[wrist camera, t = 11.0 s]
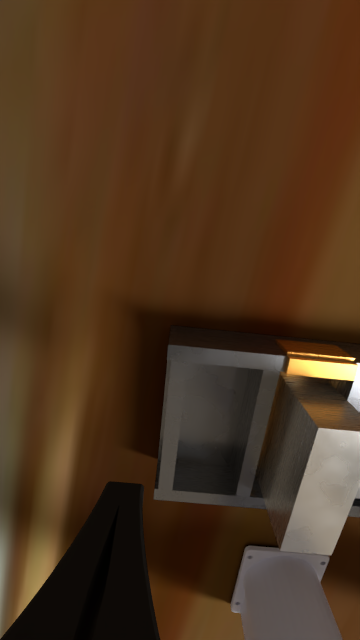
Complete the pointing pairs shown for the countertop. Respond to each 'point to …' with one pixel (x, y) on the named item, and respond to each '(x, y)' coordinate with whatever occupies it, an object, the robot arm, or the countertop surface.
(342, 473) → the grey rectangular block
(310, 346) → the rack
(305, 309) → the countertop surface
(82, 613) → the robot arm
